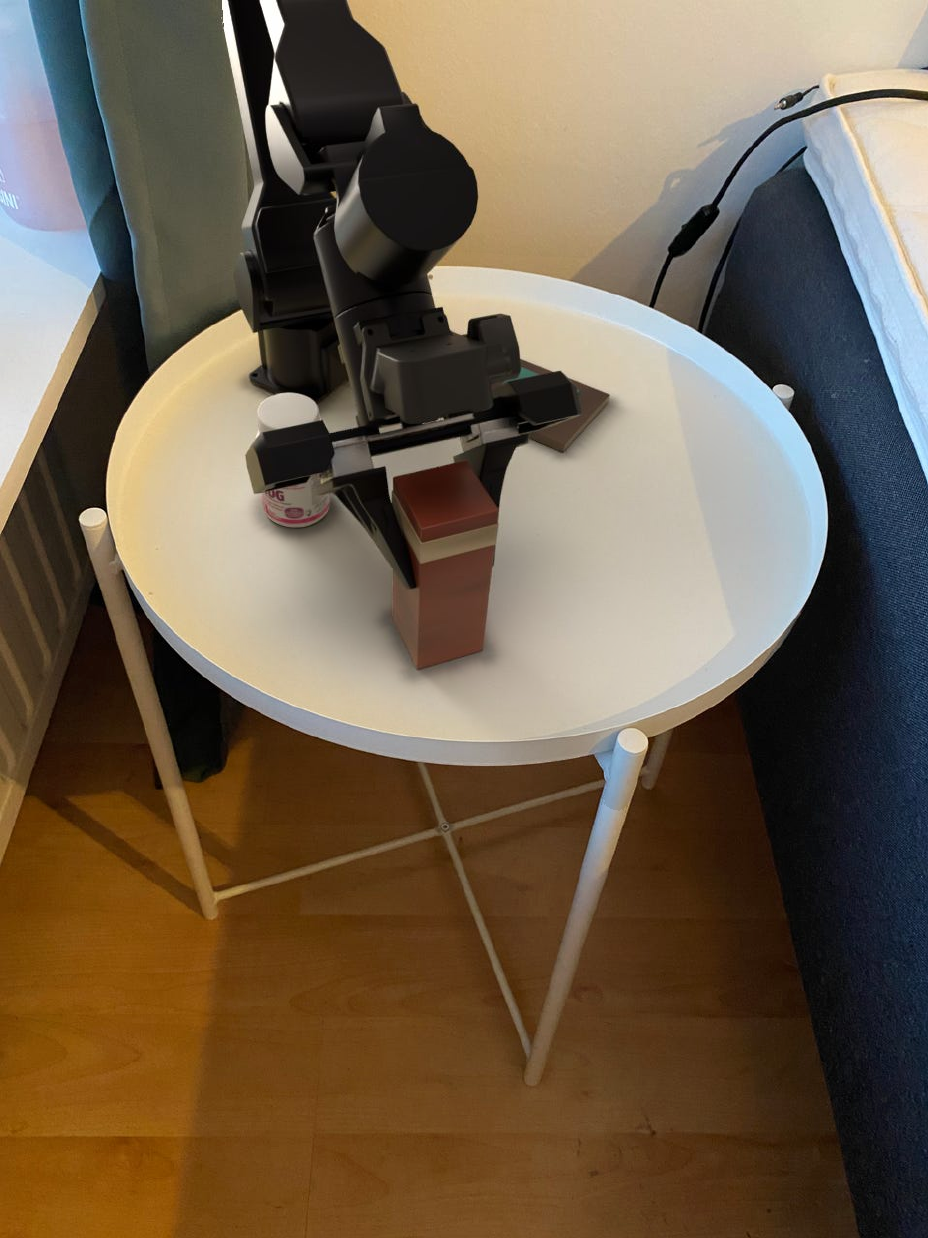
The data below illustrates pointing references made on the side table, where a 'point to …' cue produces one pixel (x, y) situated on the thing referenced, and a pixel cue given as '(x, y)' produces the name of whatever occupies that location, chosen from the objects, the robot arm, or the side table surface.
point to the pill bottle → (299, 500)
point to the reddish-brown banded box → (444, 561)
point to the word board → (570, 429)
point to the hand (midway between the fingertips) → (449, 578)
